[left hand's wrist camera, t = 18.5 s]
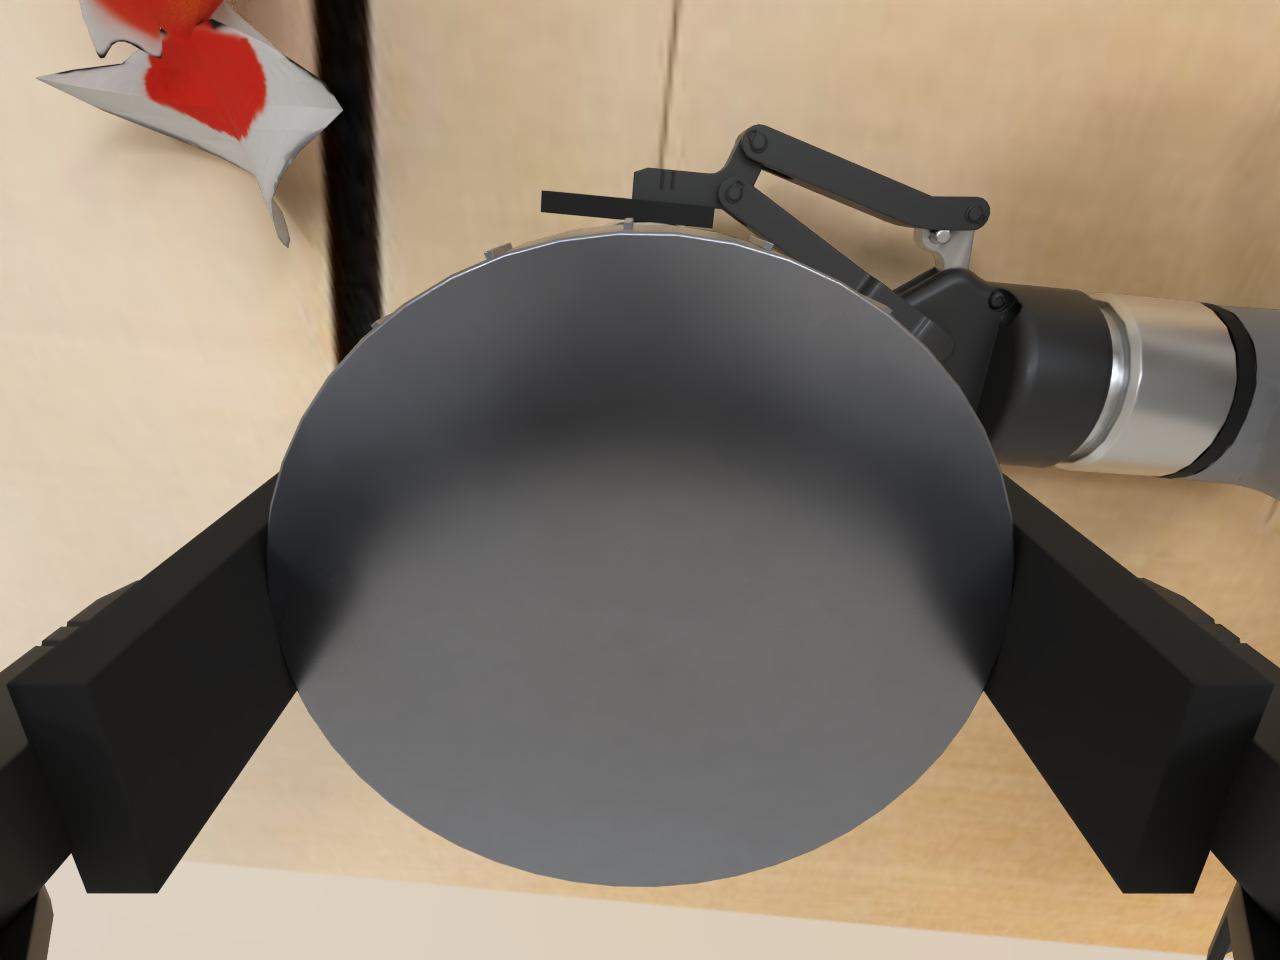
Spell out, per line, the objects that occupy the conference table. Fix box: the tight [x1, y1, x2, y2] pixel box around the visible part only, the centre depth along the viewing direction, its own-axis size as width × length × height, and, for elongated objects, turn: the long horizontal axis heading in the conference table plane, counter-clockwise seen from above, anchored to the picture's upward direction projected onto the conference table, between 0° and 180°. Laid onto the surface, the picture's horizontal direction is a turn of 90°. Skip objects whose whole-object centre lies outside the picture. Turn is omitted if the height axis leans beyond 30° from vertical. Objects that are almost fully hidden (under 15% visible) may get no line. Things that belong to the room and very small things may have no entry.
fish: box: [36, 0, 343, 248], centre depth 28 cm, size 11×16×10 cm
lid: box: [265, 218, 1015, 887], centre depth 11 cm, size 10×10×2 cm
